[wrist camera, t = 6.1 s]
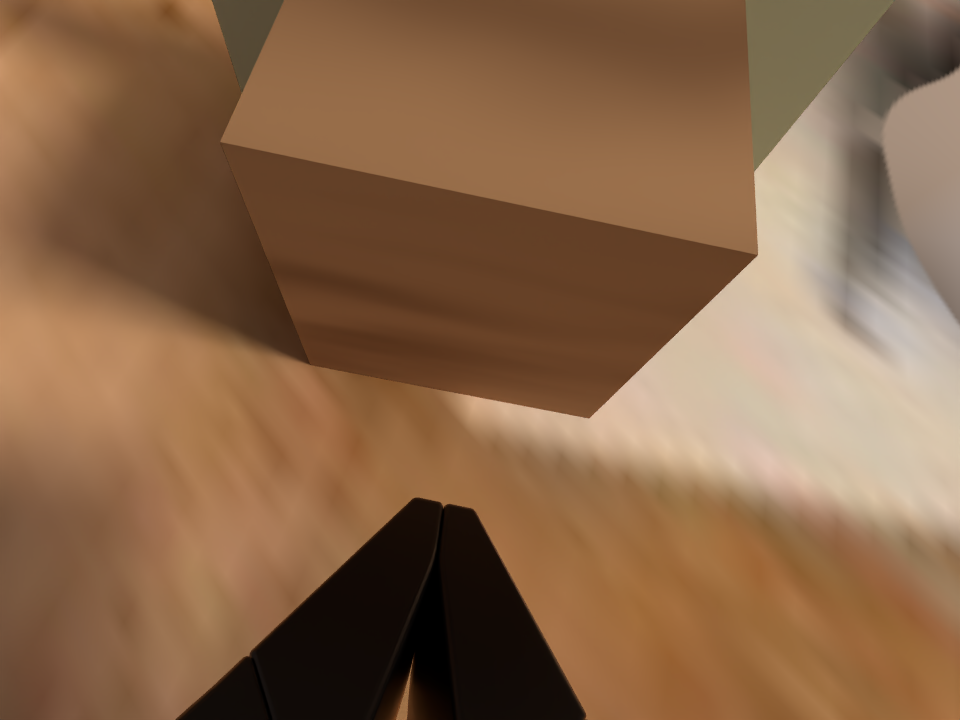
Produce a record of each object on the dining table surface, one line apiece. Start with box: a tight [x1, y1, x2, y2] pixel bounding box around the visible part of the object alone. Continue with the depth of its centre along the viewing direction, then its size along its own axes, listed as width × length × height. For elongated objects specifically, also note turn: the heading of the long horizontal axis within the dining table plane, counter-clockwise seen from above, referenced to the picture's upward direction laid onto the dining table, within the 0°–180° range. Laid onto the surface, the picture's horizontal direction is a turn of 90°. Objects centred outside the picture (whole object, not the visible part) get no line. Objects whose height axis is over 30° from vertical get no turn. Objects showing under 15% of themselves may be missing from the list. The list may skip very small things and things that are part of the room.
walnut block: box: [220, 0, 758, 418], centre depth 14 cm, size 8×8×8 cm
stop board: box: [212, 0, 895, 171], centre depth 15 cm, size 2×16×10 cm, turn 81°
